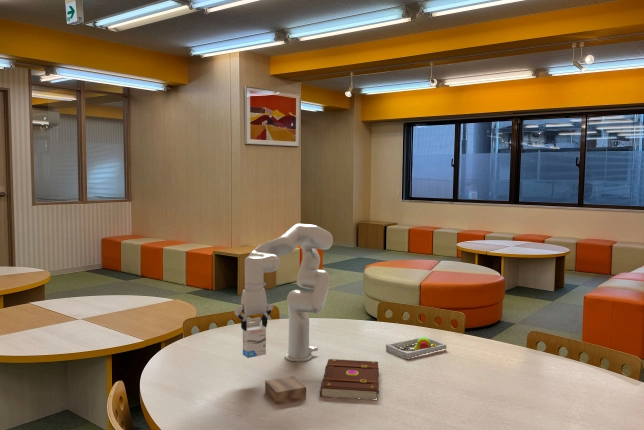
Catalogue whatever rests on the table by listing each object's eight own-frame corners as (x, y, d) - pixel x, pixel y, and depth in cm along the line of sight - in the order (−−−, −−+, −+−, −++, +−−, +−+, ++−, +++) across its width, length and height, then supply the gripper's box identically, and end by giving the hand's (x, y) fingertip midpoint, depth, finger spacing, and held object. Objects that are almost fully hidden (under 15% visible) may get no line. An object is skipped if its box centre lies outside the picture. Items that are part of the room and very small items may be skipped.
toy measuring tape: (436, 354, 254) (436, 340, 253) (395, 350, 258) (396, 337, 257) (436, 349, 260) (436, 336, 260) (396, 346, 264) (396, 333, 264)
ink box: (247, 358, 213) (247, 323, 212) (242, 354, 217) (242, 319, 216) (266, 354, 218) (266, 319, 216) (261, 350, 222) (260, 316, 220)
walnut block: (293, 388, 211) (293, 375, 211) (305, 399, 200) (306, 387, 200) (265, 393, 206) (265, 380, 205) (276, 405, 195) (276, 392, 195)
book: (378, 371, 232) (378, 360, 232) (378, 401, 201) (378, 388, 200) (326, 368, 234) (327, 357, 234) (319, 397, 203) (319, 385, 203)
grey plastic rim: (424, 342, 272) (424, 336, 272) (446, 350, 260) (446, 344, 260) (385, 350, 258) (385, 344, 258) (406, 359, 246) (406, 353, 245)
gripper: (269, 282, 223) (269, 322, 224) (230, 287, 213) (230, 329, 215) (277, 285, 216) (277, 327, 218) (238, 291, 207) (238, 334, 209)
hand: (254, 328), depth 216 cm, fingers closed on ink box, 8 cm apart
